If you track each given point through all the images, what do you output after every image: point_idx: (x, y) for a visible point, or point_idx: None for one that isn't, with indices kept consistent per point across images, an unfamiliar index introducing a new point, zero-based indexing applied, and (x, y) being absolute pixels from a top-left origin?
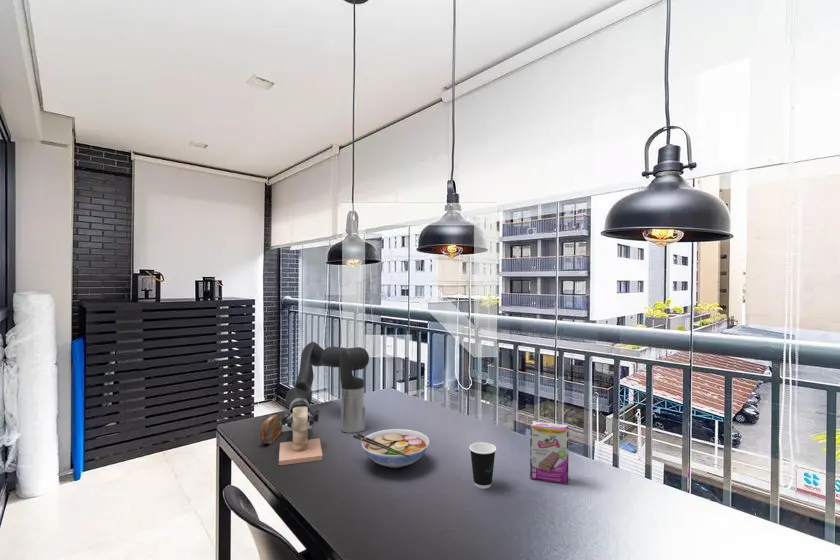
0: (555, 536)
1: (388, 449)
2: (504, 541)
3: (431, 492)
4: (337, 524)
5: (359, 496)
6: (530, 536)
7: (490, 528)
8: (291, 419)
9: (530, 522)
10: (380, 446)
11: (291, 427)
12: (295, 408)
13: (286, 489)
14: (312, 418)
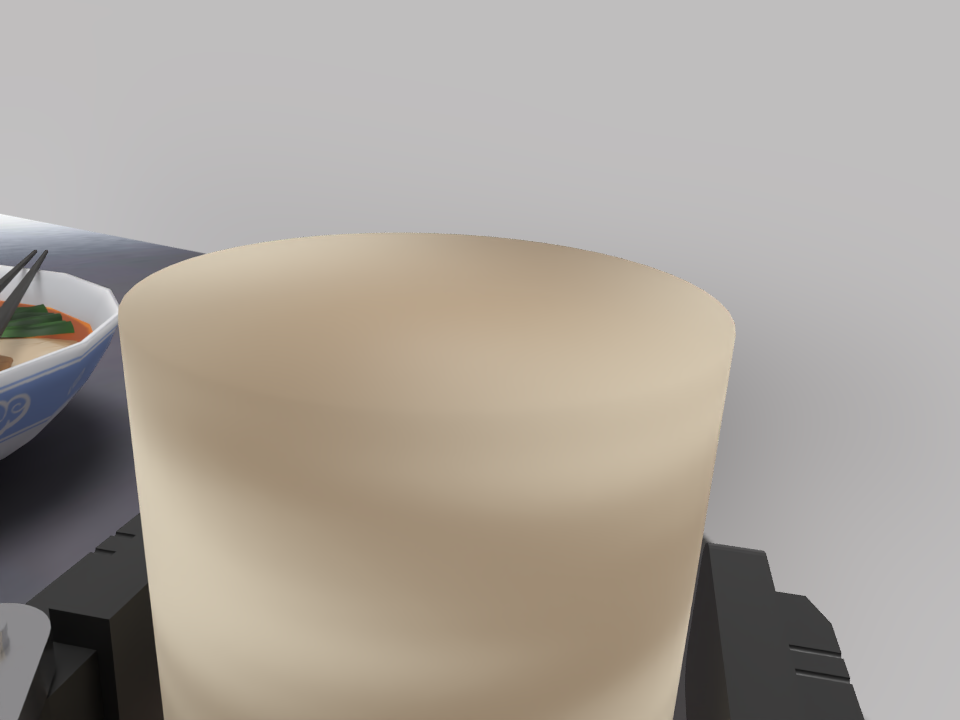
0: (73, 243)
1: (27, 282)
2: (170, 257)
3: None
4: None
5: None
6: (111, 251)
7: (145, 268)
8: (724, 663)
9: (50, 257)
10: (17, 299)
11: (688, 658)
12: (621, 326)
13: None
14: (75, 583)
